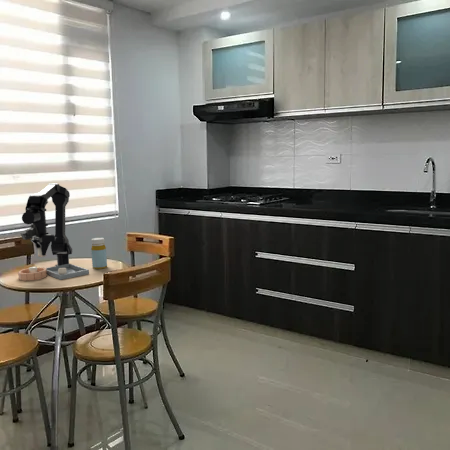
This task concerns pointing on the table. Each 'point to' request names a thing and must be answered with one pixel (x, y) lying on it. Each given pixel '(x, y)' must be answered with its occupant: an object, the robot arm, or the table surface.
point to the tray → (71, 271)
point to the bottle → (98, 253)
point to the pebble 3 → (62, 271)
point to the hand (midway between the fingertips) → (41, 255)
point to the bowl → (32, 274)
